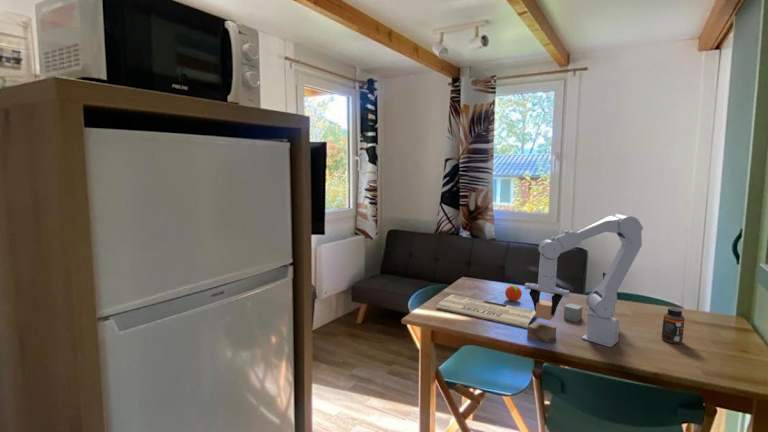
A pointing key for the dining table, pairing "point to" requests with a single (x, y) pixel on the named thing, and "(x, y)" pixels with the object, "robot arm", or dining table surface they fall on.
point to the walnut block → (541, 332)
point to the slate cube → (573, 312)
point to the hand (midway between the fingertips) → (544, 312)
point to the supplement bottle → (673, 326)
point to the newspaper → (487, 310)
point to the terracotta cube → (544, 310)
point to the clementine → (513, 293)
